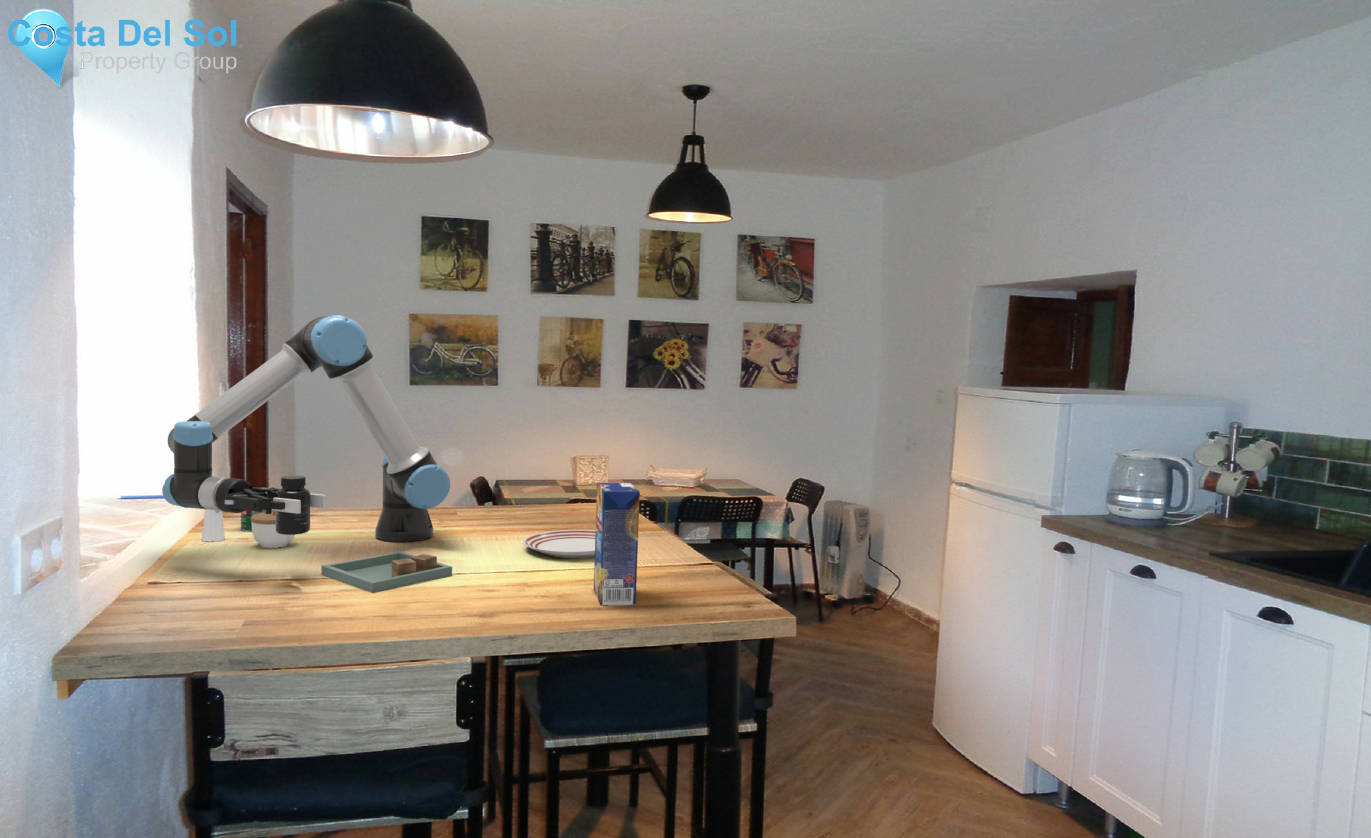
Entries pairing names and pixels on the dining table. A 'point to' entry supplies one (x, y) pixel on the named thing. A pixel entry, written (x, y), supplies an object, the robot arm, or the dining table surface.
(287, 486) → the supplement bottle
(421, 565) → the walnut block
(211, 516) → the pepper shaker
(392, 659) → the dining table surface
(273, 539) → the lidded jar
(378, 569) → the tray
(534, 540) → the dinner plate
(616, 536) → the juice carton
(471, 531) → the dining table surface
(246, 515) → the canned tomato
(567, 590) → the dining table surface
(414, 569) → the walnut block
